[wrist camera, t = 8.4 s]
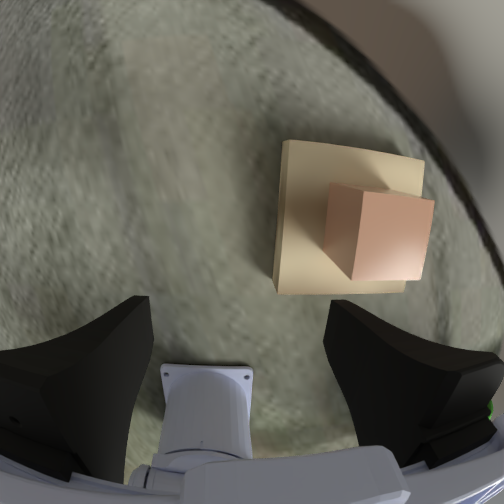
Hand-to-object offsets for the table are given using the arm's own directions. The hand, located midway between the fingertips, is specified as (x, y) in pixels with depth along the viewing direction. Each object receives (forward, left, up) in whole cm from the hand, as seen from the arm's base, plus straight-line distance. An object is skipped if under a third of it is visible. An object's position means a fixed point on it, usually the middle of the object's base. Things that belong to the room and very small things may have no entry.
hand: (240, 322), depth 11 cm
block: (+3, -8, -8) cm, 12 cm away
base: (+2, -8, -10) cm, 13 cm away
